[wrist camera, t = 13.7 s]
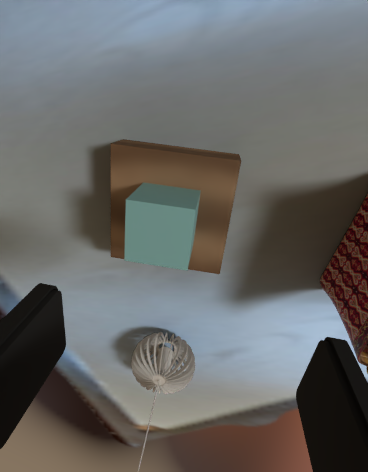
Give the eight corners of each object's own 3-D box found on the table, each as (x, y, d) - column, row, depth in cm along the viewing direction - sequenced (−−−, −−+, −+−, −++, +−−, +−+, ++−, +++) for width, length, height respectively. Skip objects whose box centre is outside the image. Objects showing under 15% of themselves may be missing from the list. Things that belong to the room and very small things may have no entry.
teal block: (143, 182, 30) (125, 199, 24) (200, 190, 29) (195, 209, 24) (140, 234, 32) (124, 260, 27) (193, 242, 32) (187, 270, 26)
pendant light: (175, 377, 47) (111, 749, 20) (127, 349, 46) (-13, 705, 18) (209, 344, 43) (185, 749, 16) (157, 313, 42) (35, 695, 15)
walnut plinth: (123, 139, 32) (110, 143, 28) (239, 154, 31) (241, 160, 28) (121, 242, 38) (110, 256, 34) (219, 257, 37) (219, 274, 33)
